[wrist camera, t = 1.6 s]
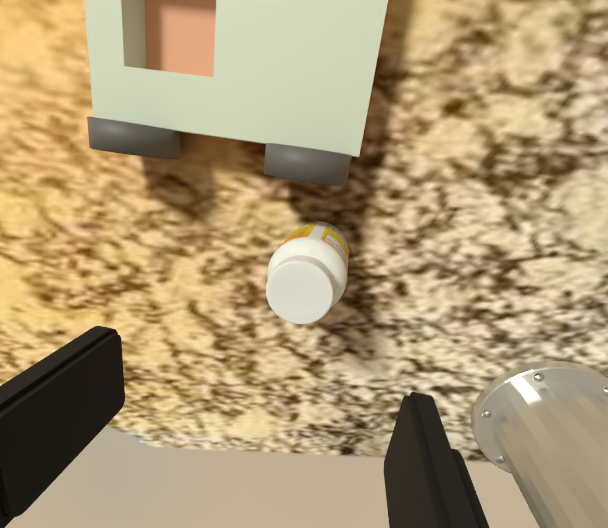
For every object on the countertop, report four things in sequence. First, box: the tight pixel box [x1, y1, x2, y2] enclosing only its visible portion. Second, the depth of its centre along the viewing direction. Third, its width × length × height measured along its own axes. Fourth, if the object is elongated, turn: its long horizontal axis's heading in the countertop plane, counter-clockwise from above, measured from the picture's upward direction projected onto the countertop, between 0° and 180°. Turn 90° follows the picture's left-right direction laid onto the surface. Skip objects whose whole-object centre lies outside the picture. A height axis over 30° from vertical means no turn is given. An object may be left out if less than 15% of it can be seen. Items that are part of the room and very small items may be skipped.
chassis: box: [84, 0, 388, 186], centre depth 20 cm, size 20×18×6 cm
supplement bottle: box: [266, 221, 349, 324], centre depth 22 cm, size 5×5×10 cm
